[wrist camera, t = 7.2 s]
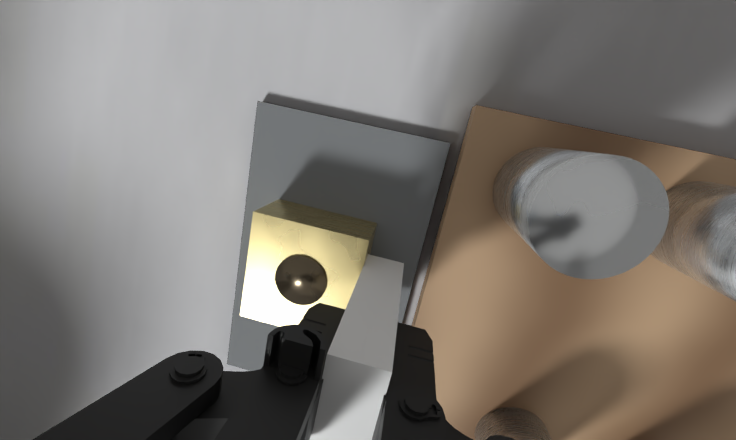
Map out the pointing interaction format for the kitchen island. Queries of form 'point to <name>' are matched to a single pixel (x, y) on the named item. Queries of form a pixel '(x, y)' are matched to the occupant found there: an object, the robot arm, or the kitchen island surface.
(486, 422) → the spacers
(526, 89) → the kitchen island surface
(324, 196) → the mat
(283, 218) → the nut
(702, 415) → the board
